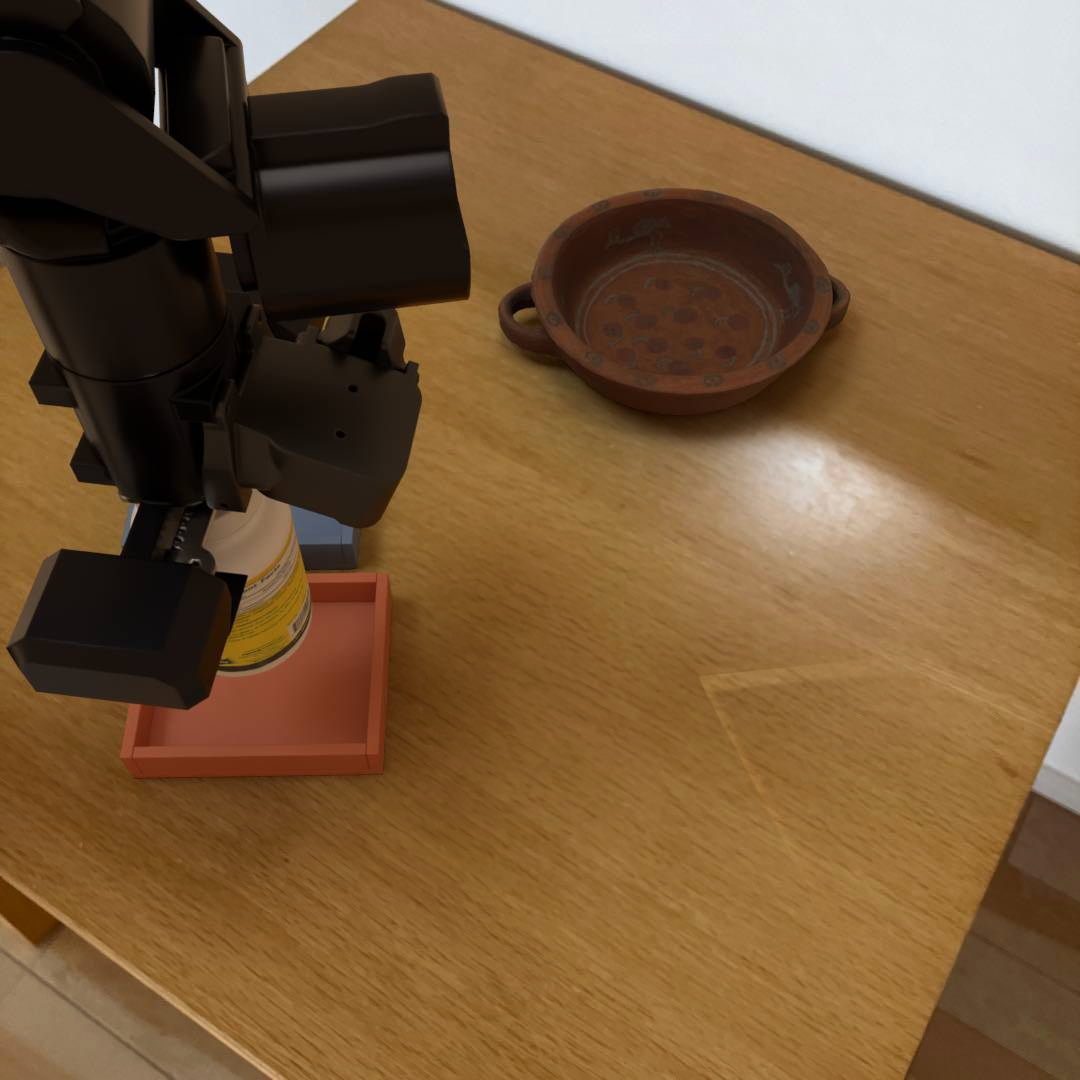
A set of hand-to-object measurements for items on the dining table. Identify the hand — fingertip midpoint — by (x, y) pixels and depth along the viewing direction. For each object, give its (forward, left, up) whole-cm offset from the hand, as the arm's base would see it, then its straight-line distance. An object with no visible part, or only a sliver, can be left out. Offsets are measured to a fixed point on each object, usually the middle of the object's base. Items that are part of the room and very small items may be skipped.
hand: (231, 578), depth 49 cm
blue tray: (-3, +13, -12) cm, 18 cm away
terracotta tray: (-1, +1, -12) cm, 12 cm away
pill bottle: (0, 0, -4) cm, 4 cm away
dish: (+22, +25, -12) cm, 36 cm away
